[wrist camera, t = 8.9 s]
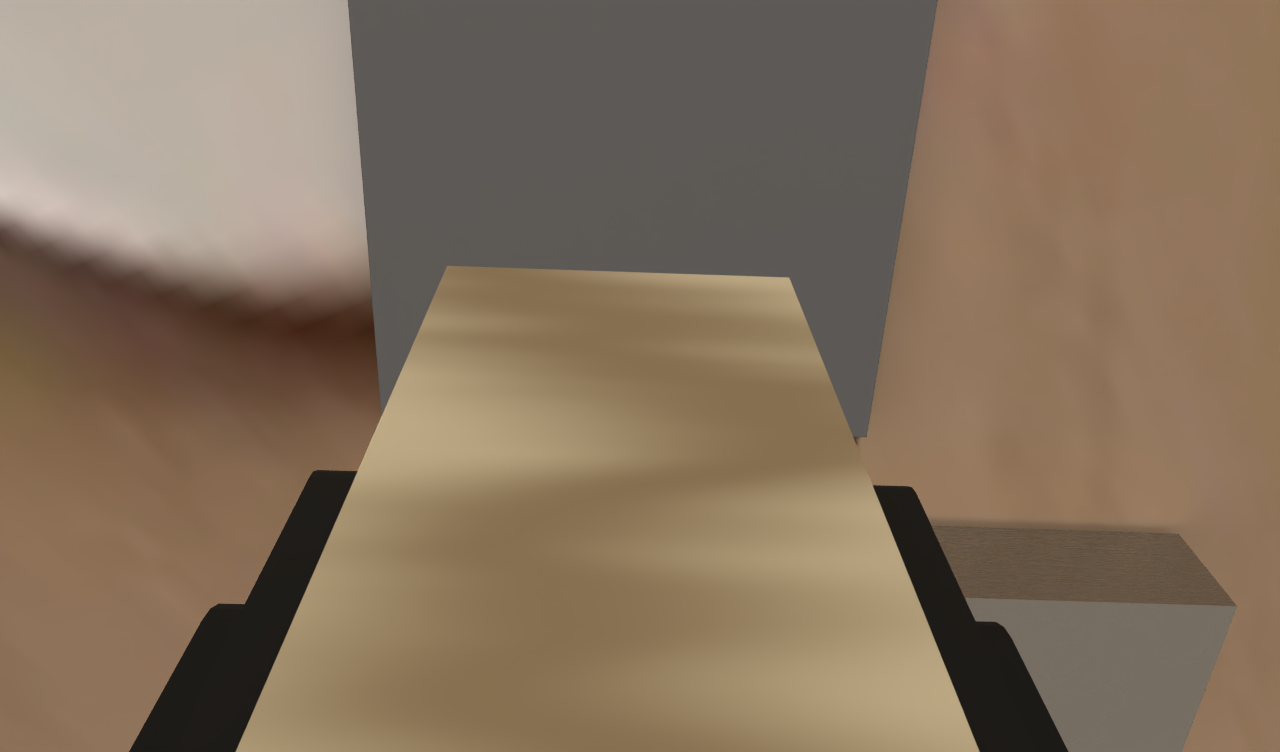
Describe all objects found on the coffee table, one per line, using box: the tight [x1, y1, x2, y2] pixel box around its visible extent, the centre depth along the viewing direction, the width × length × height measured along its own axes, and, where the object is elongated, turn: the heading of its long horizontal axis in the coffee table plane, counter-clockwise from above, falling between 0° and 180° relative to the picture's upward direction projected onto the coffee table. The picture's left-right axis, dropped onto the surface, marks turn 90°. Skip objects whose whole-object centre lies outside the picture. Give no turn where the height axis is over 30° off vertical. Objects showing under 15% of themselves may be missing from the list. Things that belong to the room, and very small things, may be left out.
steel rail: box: [932, 526, 1237, 752], centre depth 28 cm, size 22×8×3 cm, turn 88°
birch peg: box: [236, 266, 979, 752], centre depth 10 cm, size 4×4×9 cm
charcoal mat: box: [348, 0, 938, 437], centre depth 23 cm, size 12×12×1 cm
